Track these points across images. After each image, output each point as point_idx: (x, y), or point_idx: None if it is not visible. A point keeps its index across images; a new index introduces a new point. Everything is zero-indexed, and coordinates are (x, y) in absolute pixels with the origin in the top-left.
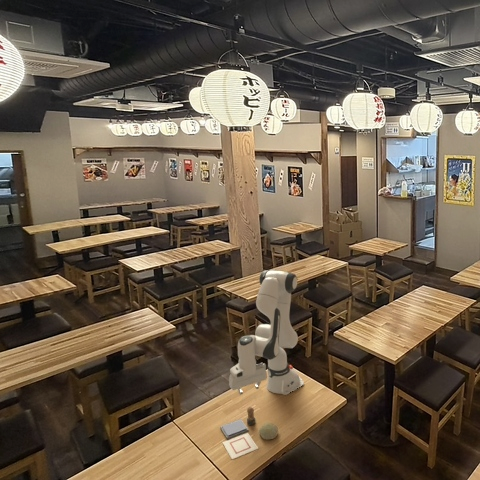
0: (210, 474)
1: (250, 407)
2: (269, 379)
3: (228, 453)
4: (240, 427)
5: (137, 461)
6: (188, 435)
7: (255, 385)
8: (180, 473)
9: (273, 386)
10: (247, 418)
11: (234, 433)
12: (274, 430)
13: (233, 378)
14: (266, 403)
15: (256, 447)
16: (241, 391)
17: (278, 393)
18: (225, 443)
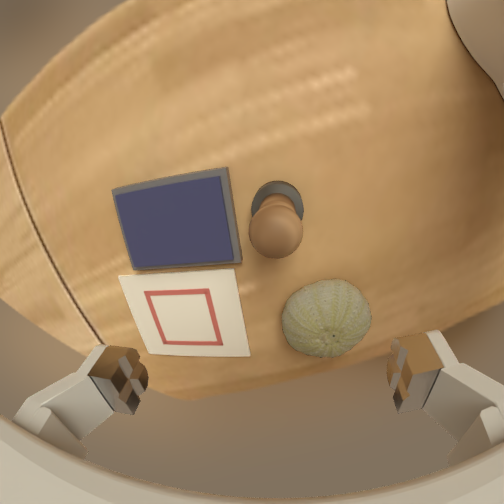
0: None
1: (277, 237)
2: (491, 2)
3: (139, 328)
4: (201, 240)
5: None
6: (23, 190)
7: (407, 388)
8: (35, 320)
9: (489, 40)
10: (258, 193)
11: (166, 264)
12: (345, 351)
13: None
14: (416, 95)
15: (244, 350)
16: (118, 410)
17: (486, 72)
18: (129, 286)
